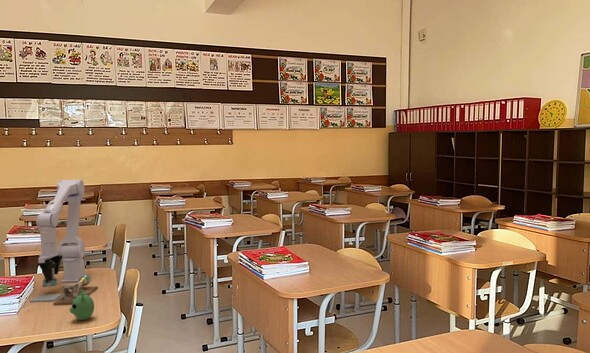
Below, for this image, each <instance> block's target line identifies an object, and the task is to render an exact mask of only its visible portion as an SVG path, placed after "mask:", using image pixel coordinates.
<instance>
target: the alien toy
mask: <svg viewBox="0 0 590 353" xmlns="http://www.w3.org/2000/svg"><path fill="white" fill-rule="evenodd" d="M79 292H80V295H79V296H77V297H76V298H74V300H73V302H72V305H71V307H70V308H69V312H70V314H73V315H74V316H75V319H77V320H79V321H86V320H88V319H89V318H91V317H92V315H93V314H94V311H95V302H94V299H93V298H92V297H91V295H85V293H84V290H80V291H79Z"/></svg>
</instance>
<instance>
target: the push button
mask: <svg viewBox="0 0 590 353" xmlns="http://www.w3.org/2000/svg"><path fill="white" fill-rule="evenodd" d="M55 267H56V263H53V266H52V275H51V278H49V279H45V277H44V278H43V280H42V287H43V288H52V287H56V286H57V285H59V283H62V282H61V280H59V281H58V279H57V278H56V276H55V274H54V268H55Z"/></svg>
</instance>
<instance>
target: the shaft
mask: <svg viewBox="0 0 590 353" xmlns="http://www.w3.org/2000/svg"><path fill="white" fill-rule="evenodd" d="M91 281H92V280H91V277H90V276H89V275H88V274H87V275H83V276H82V277H80V279H79V280H78V281H75V283H74V284H79V288H80V287H87V285H89V284H90V283H91ZM67 293H68V294H72V293H73V288H68V289H67Z"/></svg>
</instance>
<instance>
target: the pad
mask: <svg viewBox="0 0 590 353" xmlns="http://www.w3.org/2000/svg"><path fill="white" fill-rule="evenodd" d="M61 297H62V293H53V294H48V293H47V294H38V295H36V296H35V297H33V298H32V299H31V300H29V302H30V303H44V302H45V303H46V302H55V301H56V300H58V299H59V298H61Z"/></svg>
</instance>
